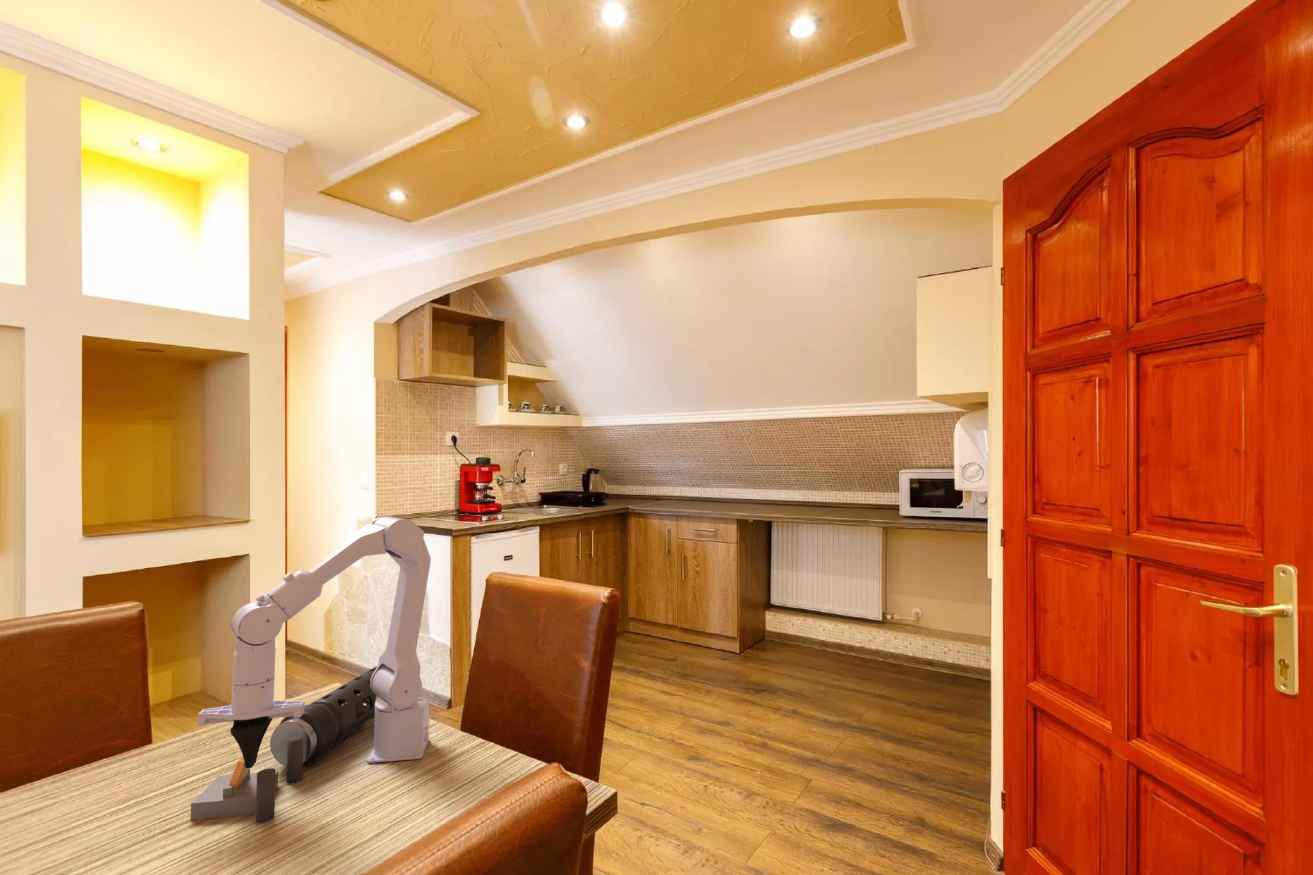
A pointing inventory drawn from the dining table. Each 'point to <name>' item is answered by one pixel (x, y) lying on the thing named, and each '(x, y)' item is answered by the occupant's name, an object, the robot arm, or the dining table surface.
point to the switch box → (227, 798)
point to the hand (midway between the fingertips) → (250, 765)
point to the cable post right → (294, 759)
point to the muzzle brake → (327, 720)
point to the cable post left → (265, 795)
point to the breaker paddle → (239, 773)
